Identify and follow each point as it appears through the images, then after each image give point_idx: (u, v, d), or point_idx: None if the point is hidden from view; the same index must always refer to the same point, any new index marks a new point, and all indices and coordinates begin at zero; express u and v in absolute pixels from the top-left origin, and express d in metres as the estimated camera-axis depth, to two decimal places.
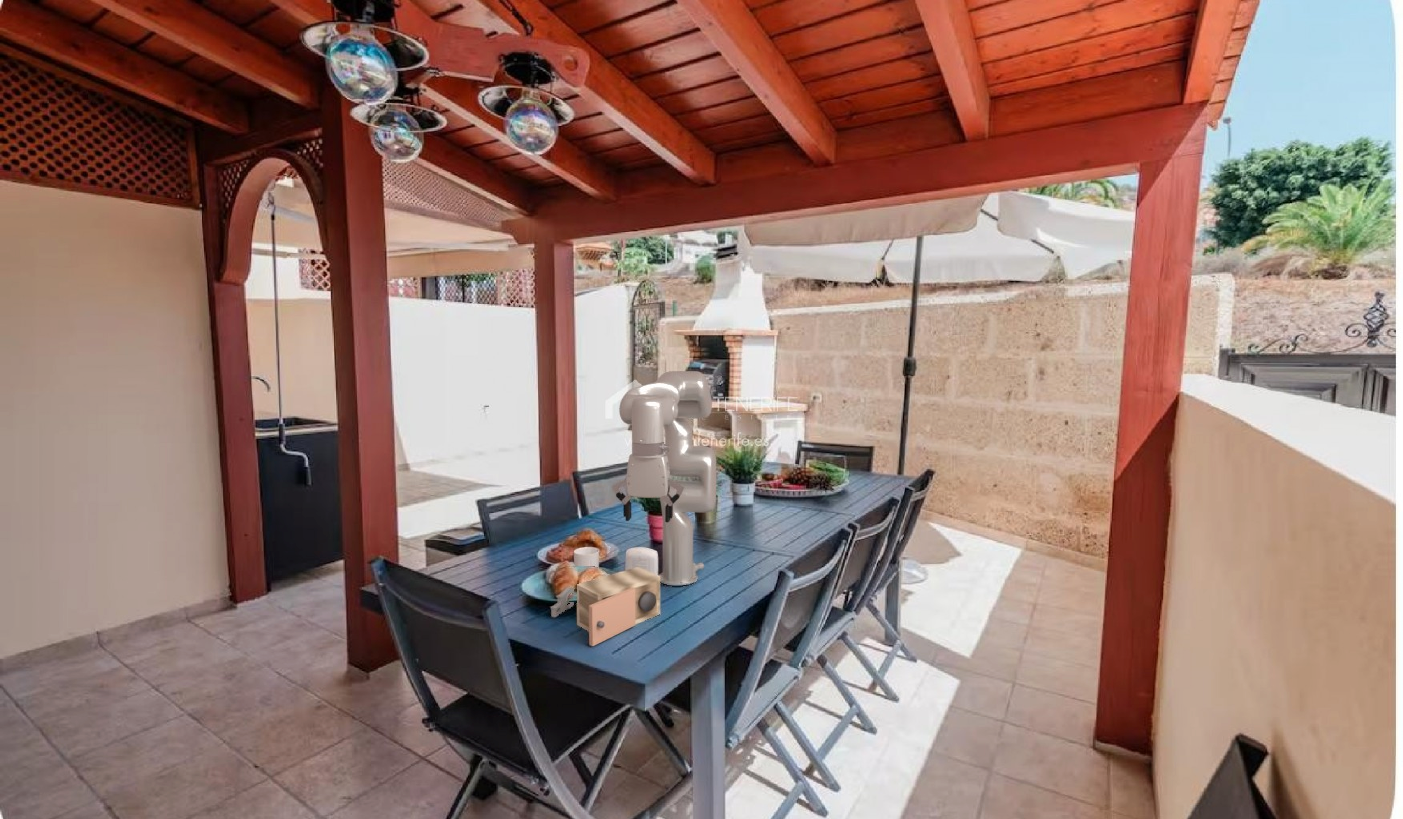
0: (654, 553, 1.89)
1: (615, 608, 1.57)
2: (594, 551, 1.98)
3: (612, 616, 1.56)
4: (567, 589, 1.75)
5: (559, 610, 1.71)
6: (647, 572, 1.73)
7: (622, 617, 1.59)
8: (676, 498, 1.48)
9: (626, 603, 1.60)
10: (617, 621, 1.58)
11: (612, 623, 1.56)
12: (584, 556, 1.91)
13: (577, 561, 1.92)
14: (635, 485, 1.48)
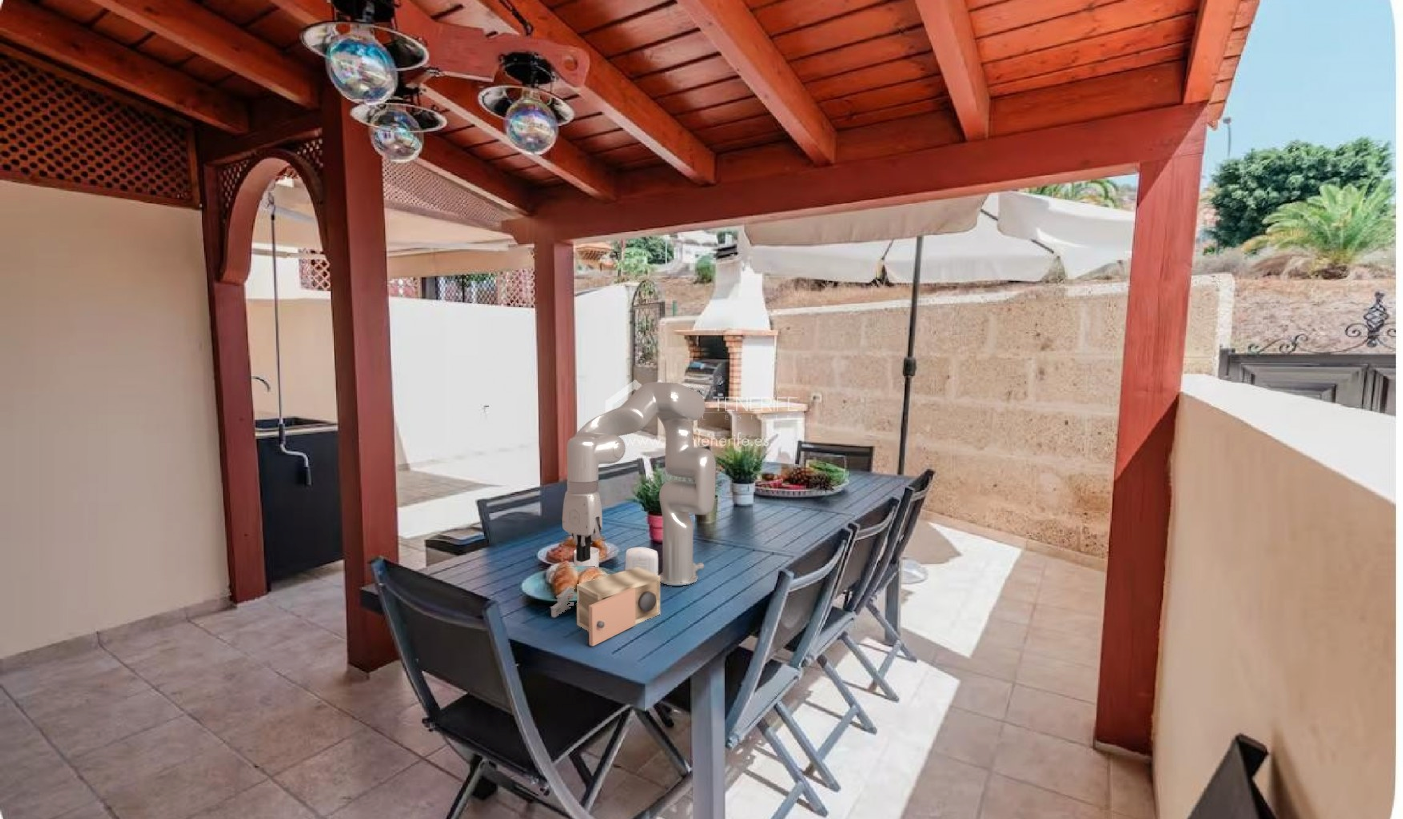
0: (654, 553, 1.89)
1: (615, 608, 1.57)
2: (594, 551, 1.98)
3: (612, 616, 1.56)
4: (567, 589, 1.75)
5: (559, 610, 1.71)
6: (647, 572, 1.73)
7: (622, 617, 1.59)
8: None
9: (626, 603, 1.60)
10: (617, 621, 1.58)
11: (612, 623, 1.56)
12: None
13: (577, 561, 1.92)
14: None
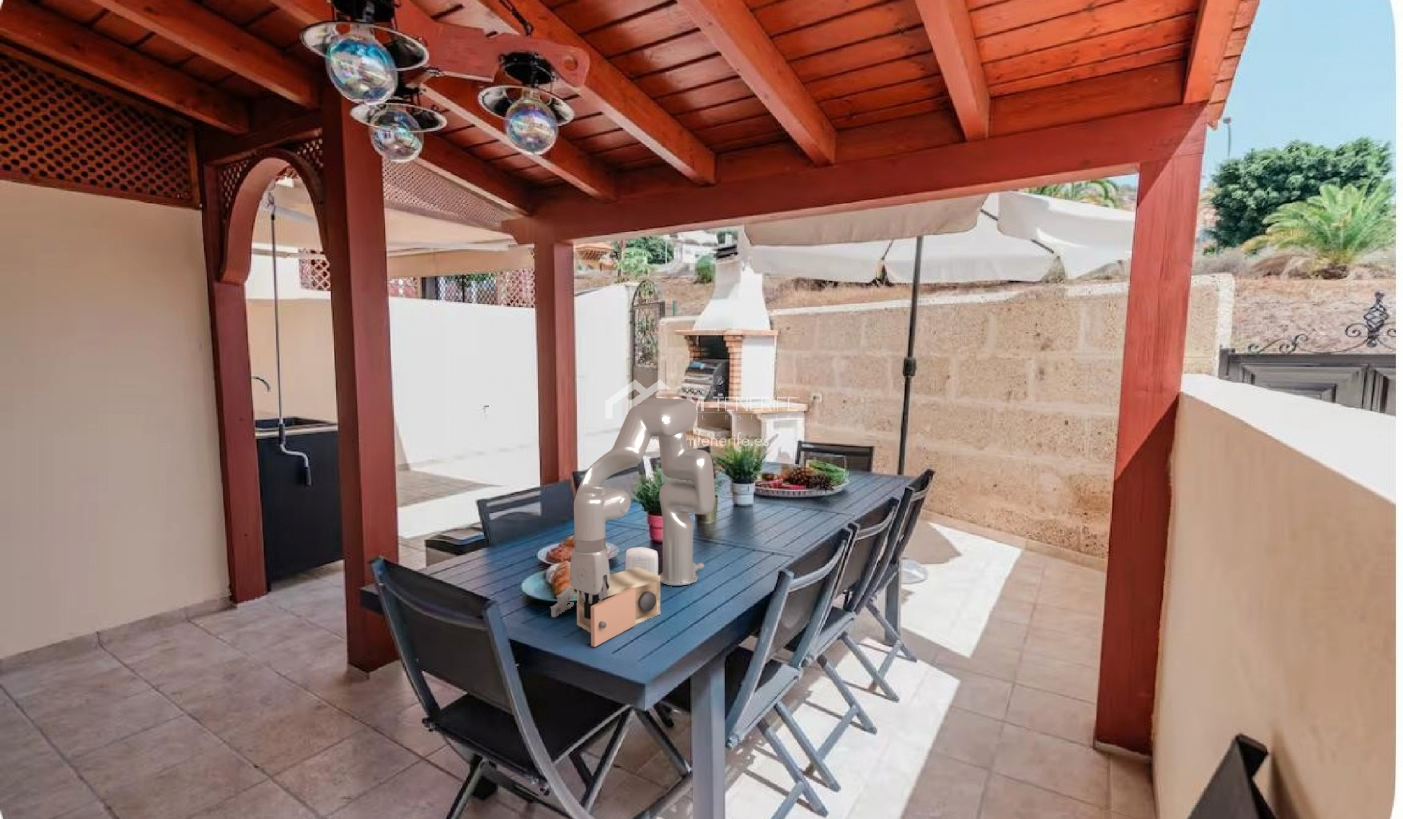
0: (654, 553, 1.89)
1: (616, 608, 1.57)
2: None
3: (613, 616, 1.56)
4: (567, 589, 1.75)
5: (559, 610, 1.71)
6: (647, 572, 1.73)
7: (623, 617, 1.59)
8: None
9: (627, 603, 1.60)
10: (618, 621, 1.58)
11: (613, 623, 1.56)
12: None
13: None
14: None
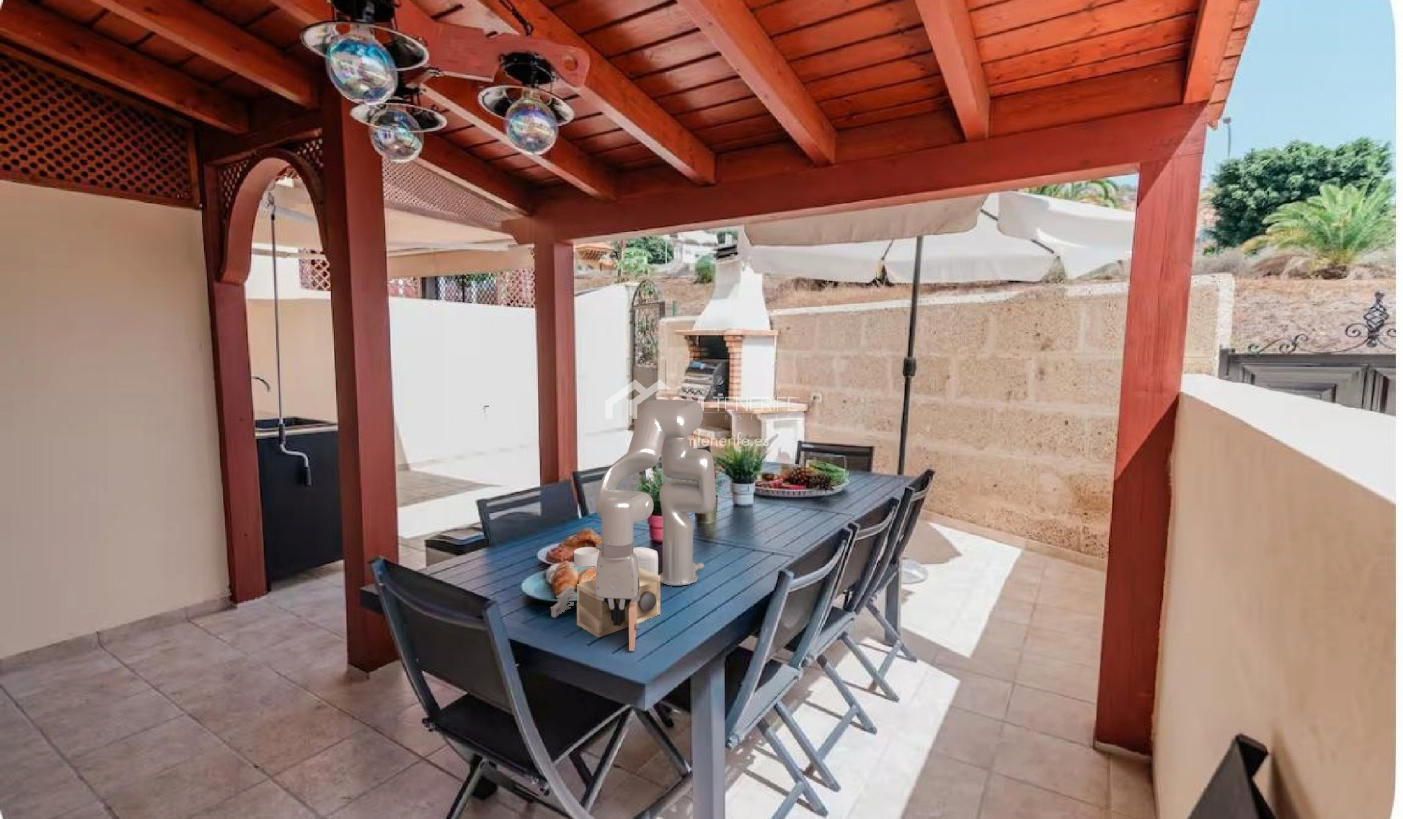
0: (654, 553, 1.89)
1: (635, 609, 1.56)
2: (594, 551, 1.98)
3: (635, 618, 1.55)
4: (567, 589, 1.75)
5: (559, 610, 1.71)
6: (647, 572, 1.73)
7: None
8: None
9: None
10: None
11: None
12: (584, 556, 1.91)
13: (577, 561, 1.92)
14: None
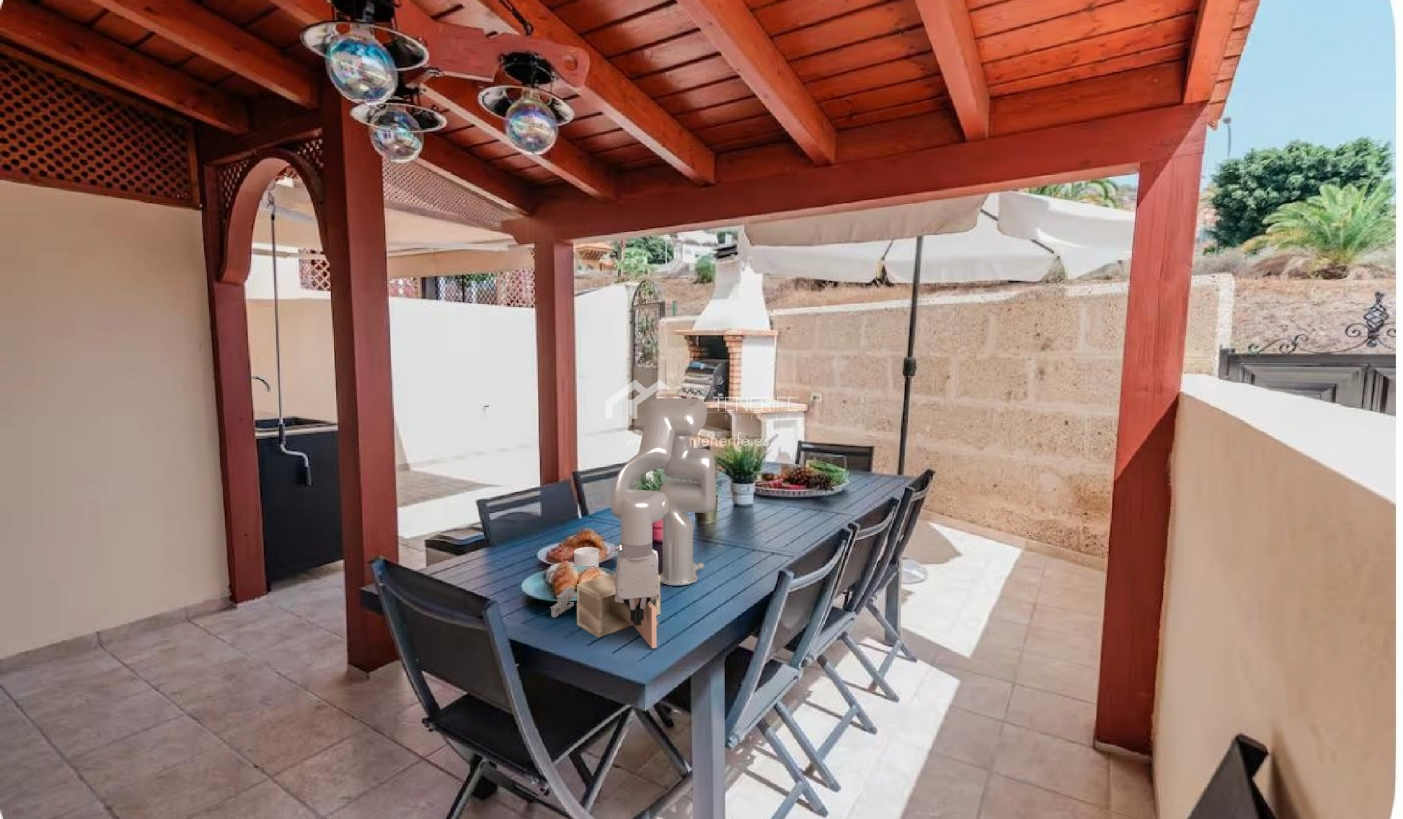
0: None
1: None
2: (594, 551, 1.98)
3: None
4: (567, 589, 1.75)
5: (559, 610, 1.71)
6: None
7: None
8: None
9: None
10: None
11: None
12: (584, 556, 1.91)
13: (577, 561, 1.92)
14: None
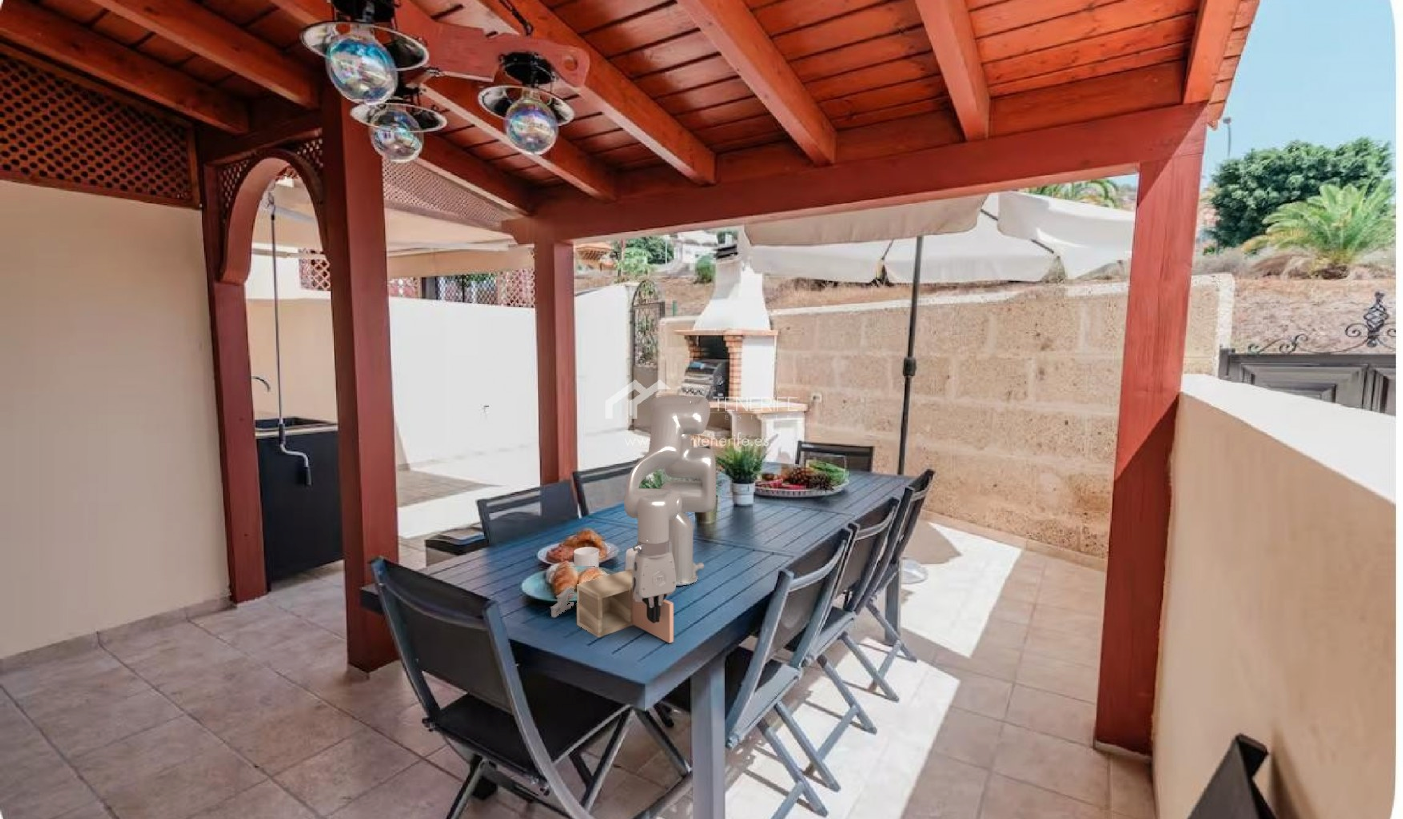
0: None
1: None
2: (594, 551, 1.98)
3: None
4: (567, 589, 1.75)
5: (559, 610, 1.71)
6: None
7: None
8: None
9: None
10: None
11: None
12: (584, 556, 1.91)
13: (577, 561, 1.92)
14: None
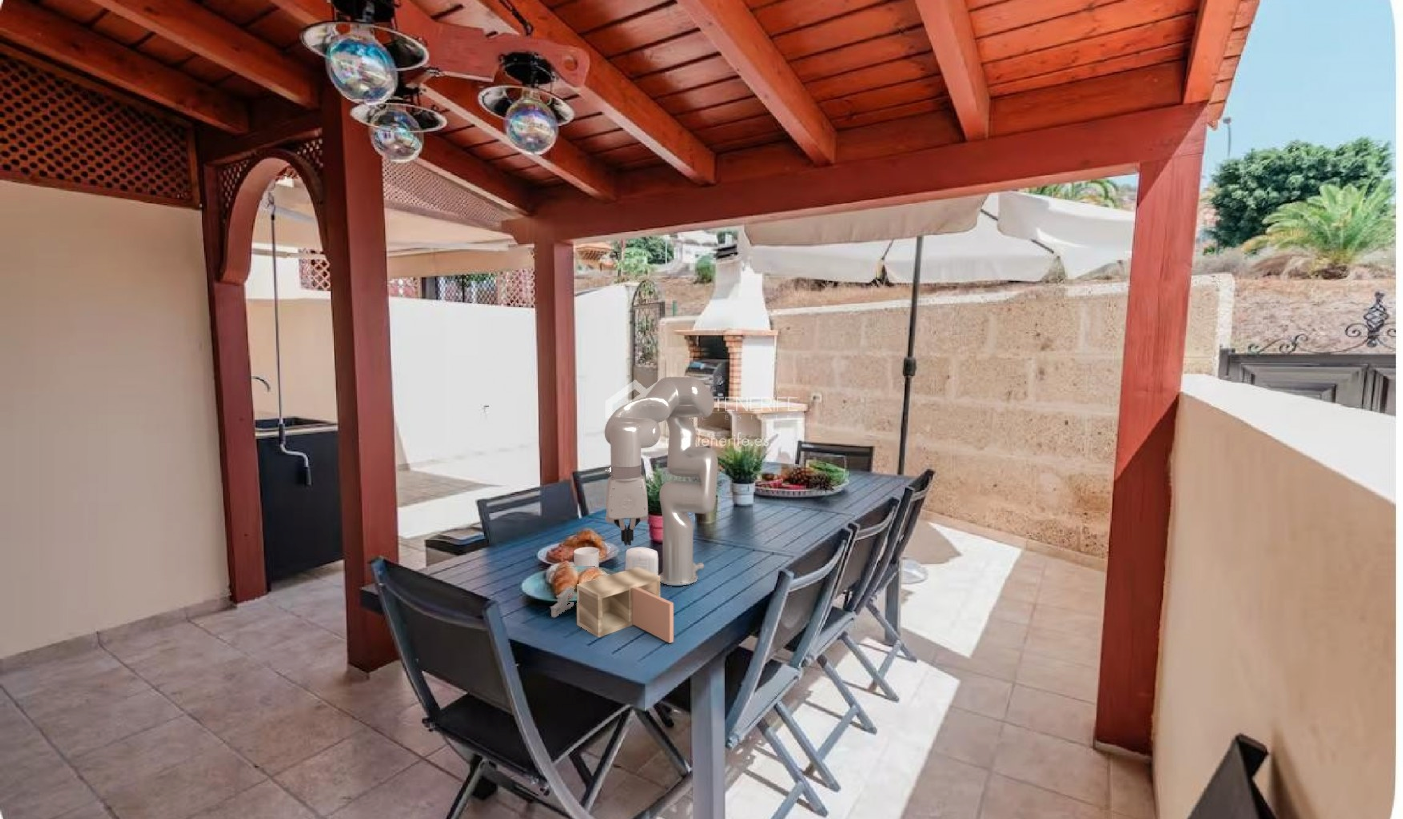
0: (654, 553, 1.89)
1: None
2: (594, 551, 1.98)
3: None
4: (567, 589, 1.75)
5: (559, 610, 1.71)
6: (647, 572, 1.73)
7: None
8: None
9: None
10: None
11: None
12: (584, 556, 1.91)
13: (577, 561, 1.92)
14: None
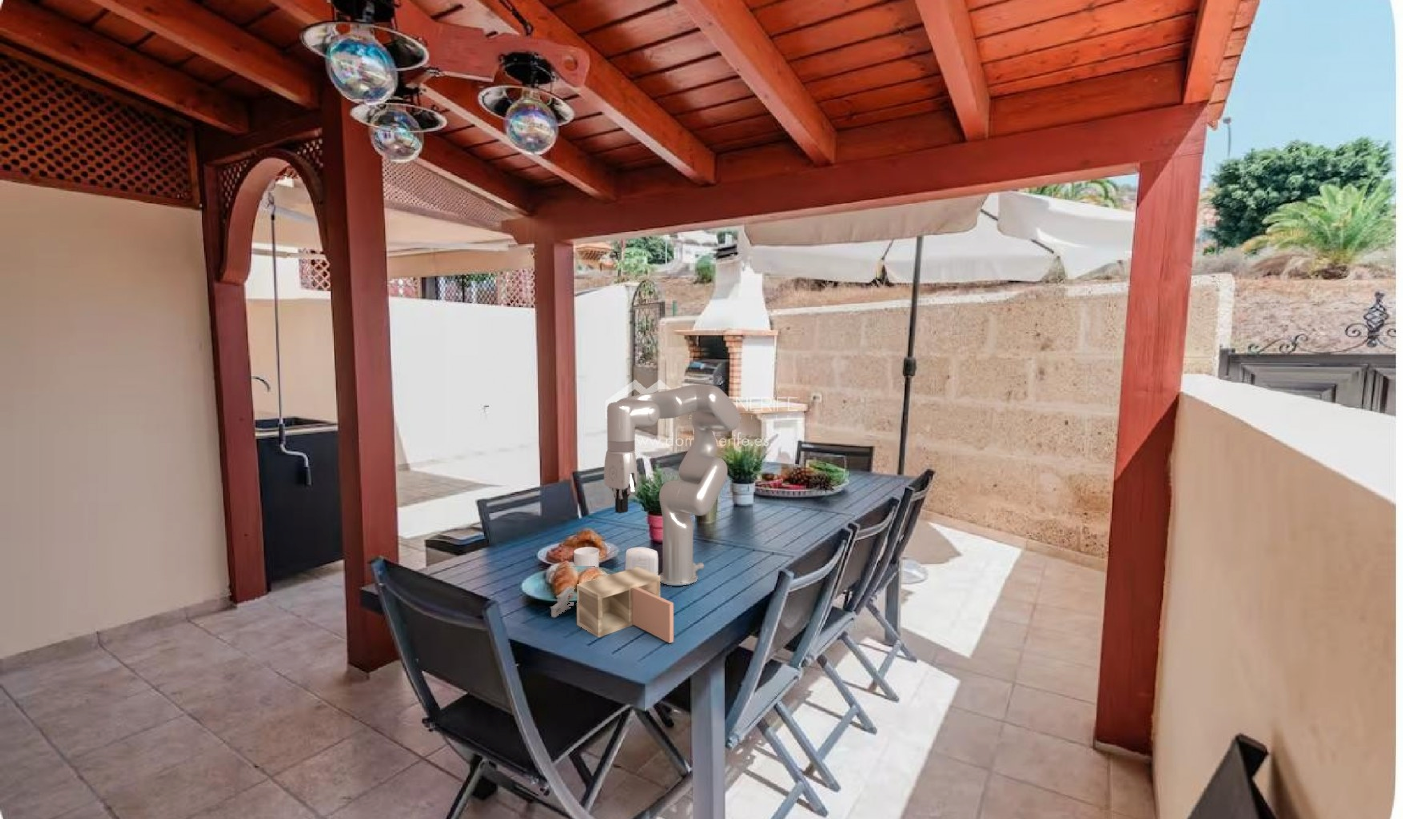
0: (654, 553, 1.89)
1: None
2: (594, 551, 1.98)
3: None
4: (567, 589, 1.75)
5: (559, 610, 1.71)
6: (647, 572, 1.73)
7: None
8: None
9: None
10: None
11: None
12: (584, 556, 1.91)
13: (577, 561, 1.92)
14: None
